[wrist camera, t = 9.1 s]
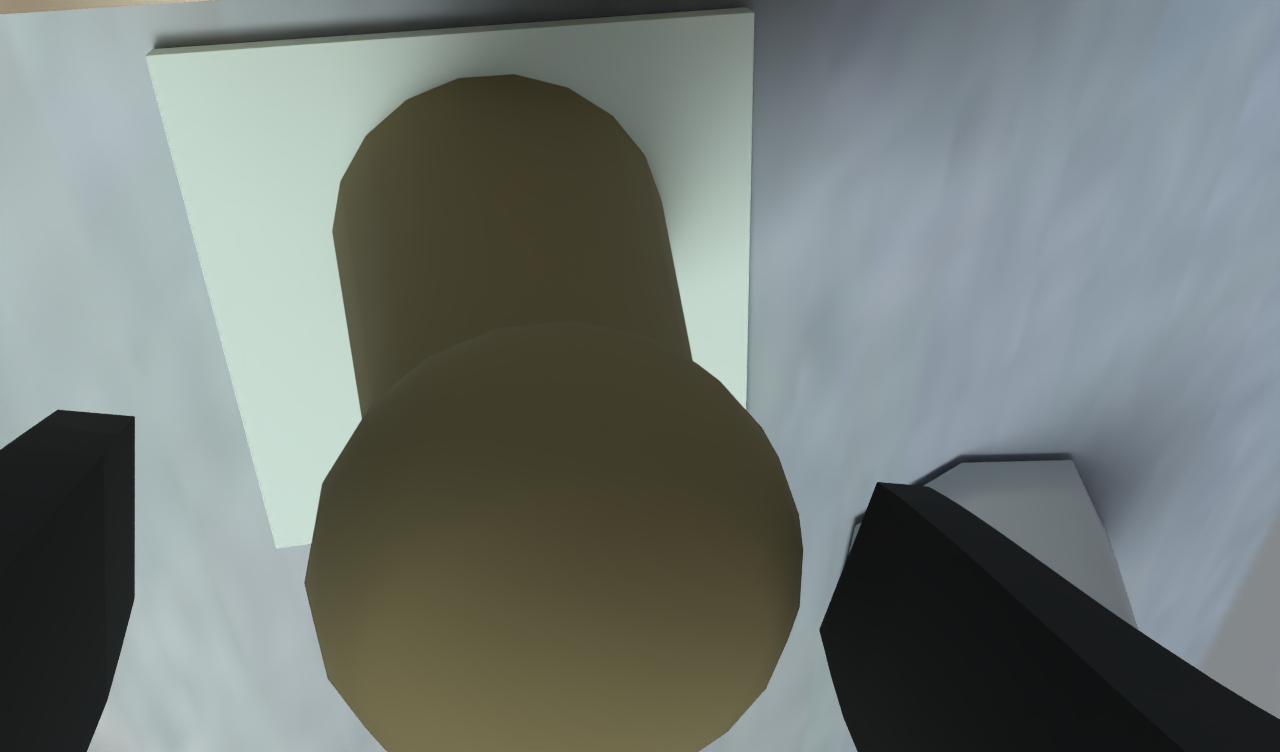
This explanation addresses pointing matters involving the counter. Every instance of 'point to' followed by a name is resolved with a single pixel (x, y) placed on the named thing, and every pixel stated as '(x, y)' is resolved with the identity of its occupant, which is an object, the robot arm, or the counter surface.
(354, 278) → the cork
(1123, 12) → the counter surface
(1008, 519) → the flask
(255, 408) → the rubber mat
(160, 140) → the counter surface
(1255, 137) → the counter surface
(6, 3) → the socket board
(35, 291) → the counter surface
